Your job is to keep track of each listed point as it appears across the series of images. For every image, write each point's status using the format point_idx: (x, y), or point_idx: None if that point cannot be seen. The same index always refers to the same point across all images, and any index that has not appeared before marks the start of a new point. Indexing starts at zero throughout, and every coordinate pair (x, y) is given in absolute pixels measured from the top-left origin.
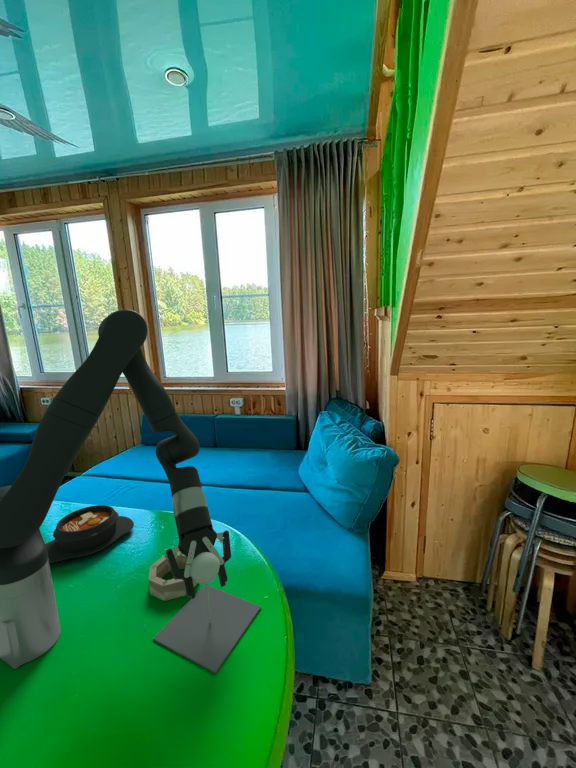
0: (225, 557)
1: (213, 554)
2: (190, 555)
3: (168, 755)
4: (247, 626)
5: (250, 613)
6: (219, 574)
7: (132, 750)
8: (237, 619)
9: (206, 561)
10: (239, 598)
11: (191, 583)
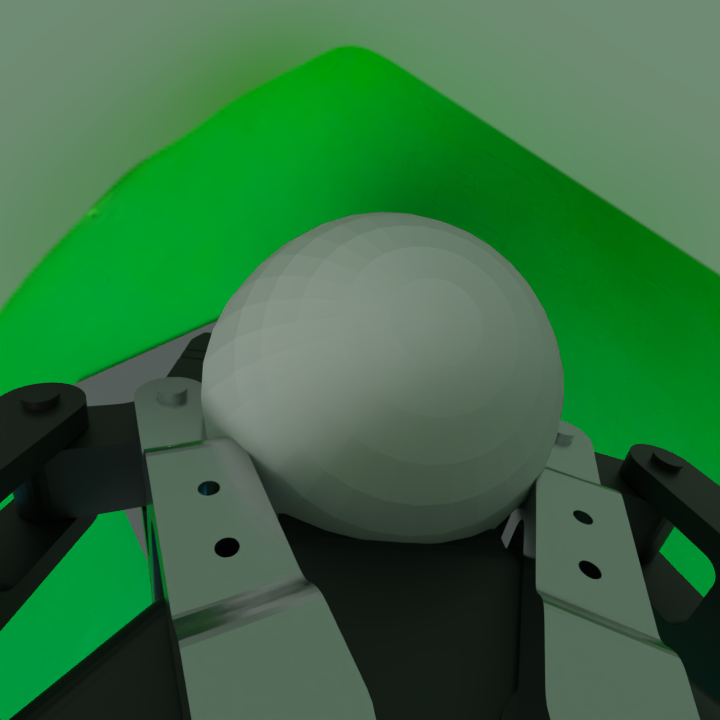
0: (85, 430)
1: (258, 354)
2: (594, 546)
3: (533, 162)
4: (191, 334)
5: (139, 381)
6: None
7: (607, 219)
8: None
9: (421, 228)
10: None
11: None
